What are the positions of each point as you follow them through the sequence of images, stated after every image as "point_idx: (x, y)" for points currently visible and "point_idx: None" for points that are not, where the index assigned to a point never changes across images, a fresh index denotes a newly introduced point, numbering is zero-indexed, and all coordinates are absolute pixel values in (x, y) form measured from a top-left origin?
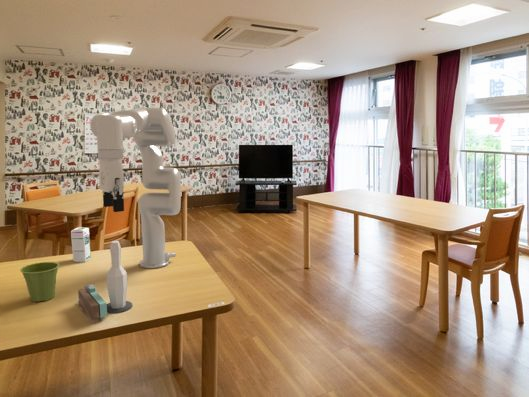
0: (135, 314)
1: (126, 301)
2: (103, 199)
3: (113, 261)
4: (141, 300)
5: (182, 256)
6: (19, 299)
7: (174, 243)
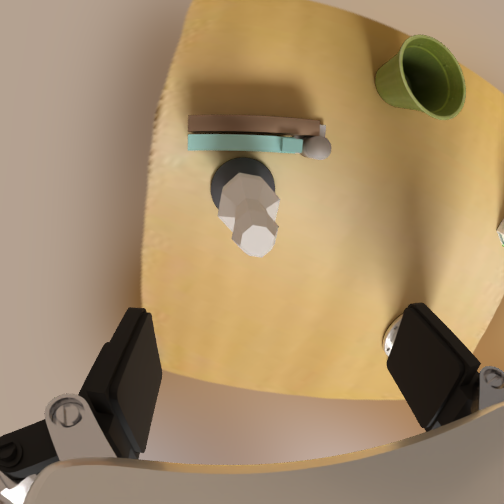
0: (183, 207)
1: None
2: (447, 337)
3: (242, 206)
4: None
5: None
6: None
7: None
